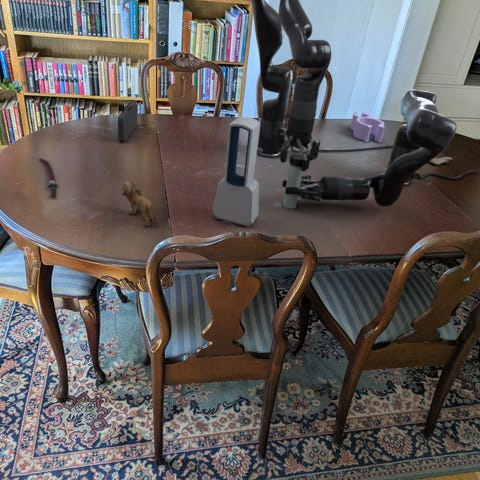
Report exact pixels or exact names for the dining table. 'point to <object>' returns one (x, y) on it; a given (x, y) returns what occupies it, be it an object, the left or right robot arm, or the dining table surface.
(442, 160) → the jawbone
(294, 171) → the pale green tube
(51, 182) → the sword
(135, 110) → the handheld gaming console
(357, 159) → the dining table surface
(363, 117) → the clip
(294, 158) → the lid
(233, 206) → the electronic device
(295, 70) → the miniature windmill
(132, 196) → the lion figurine
